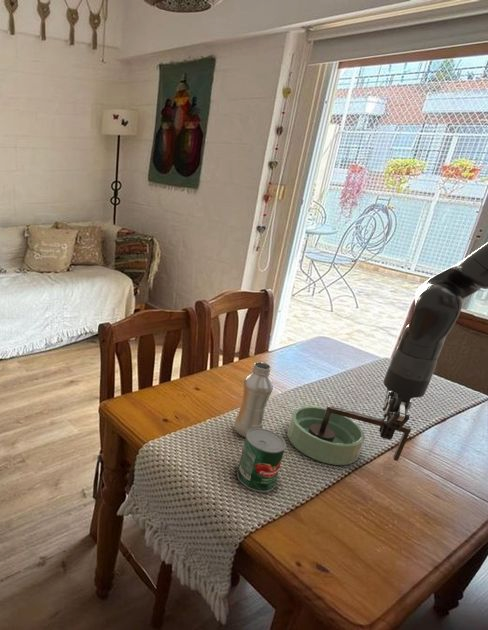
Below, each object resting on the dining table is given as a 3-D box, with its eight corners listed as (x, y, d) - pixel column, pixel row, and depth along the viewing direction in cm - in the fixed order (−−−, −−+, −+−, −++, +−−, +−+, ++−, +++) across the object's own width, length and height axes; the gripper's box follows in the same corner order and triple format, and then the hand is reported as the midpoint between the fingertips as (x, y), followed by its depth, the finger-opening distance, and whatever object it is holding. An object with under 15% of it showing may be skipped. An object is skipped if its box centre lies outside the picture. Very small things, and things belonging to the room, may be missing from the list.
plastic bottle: (239, 422, 117) (254, 356, 109) (265, 434, 112) (282, 366, 104) (228, 432, 112) (242, 364, 105) (254, 445, 108) (271, 375, 100)
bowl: (355, 437, 112) (362, 417, 110) (359, 475, 100) (367, 454, 97) (288, 418, 119) (293, 399, 117) (285, 452, 106) (290, 432, 104)
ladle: (307, 439, 108) (316, 409, 104) (308, 427, 112) (317, 397, 109) (399, 467, 100) (412, 435, 96) (395, 452, 104) (408, 421, 101)
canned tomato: (247, 461, 103) (256, 423, 98) (280, 480, 98) (292, 440, 93) (230, 478, 98) (239, 438, 93) (265, 498, 92) (276, 457, 88)
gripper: (438, 390, 88) (409, 458, 94) (425, 361, 99) (399, 424, 106) (393, 380, 91) (368, 446, 98) (385, 353, 102) (363, 415, 109)
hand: (384, 435), depth 102 cm, fingers closed on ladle, 1 cm apart
